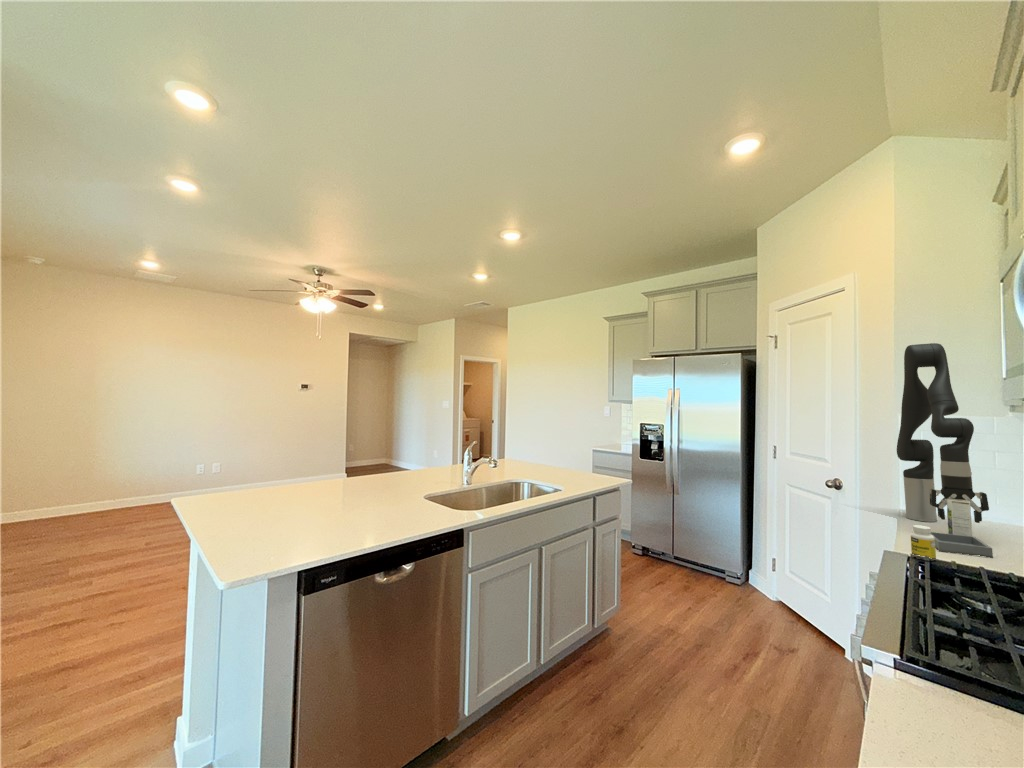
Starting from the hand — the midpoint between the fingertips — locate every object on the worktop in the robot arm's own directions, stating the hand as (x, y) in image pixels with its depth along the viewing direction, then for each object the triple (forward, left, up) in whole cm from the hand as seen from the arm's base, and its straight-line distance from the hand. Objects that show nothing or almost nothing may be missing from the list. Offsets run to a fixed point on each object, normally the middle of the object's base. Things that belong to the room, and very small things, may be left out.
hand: (959, 520), depth 148 cm
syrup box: (0, 0, -7) cm, 7 cm away
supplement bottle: (+32, -16, -7) cm, 36 cm away
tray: (+13, -4, -7) cm, 15 cm away
